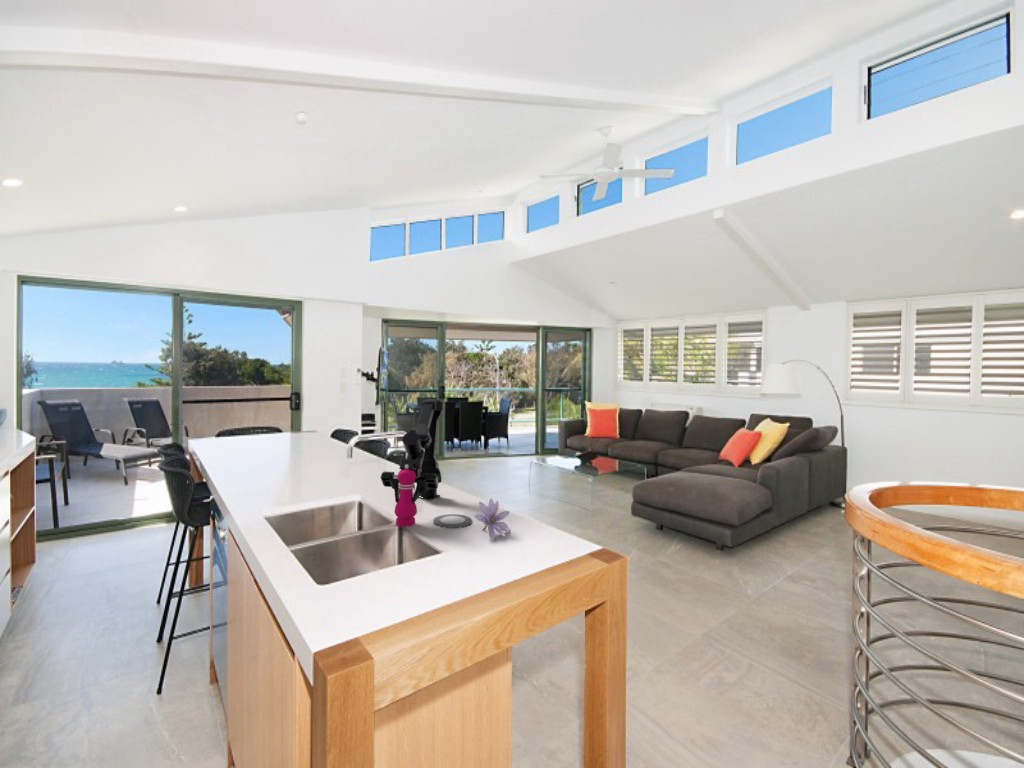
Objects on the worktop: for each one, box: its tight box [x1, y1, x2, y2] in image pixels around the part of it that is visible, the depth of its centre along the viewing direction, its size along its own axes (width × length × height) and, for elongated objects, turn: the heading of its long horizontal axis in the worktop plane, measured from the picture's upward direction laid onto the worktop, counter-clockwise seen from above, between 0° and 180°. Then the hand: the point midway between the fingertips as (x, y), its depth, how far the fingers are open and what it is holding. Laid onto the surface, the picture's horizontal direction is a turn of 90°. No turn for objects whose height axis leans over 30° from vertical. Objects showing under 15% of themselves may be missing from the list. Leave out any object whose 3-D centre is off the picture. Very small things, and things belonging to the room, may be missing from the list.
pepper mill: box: [394, 464, 418, 528], centre depth 165 cm, size 7×7×20 cm
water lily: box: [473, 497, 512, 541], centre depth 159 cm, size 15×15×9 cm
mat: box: [432, 513, 473, 529], centre depth 169 cm, size 13×13×1 cm
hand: (404, 502), depth 164 cm, fingers closed on pepper mill, 5 cm apart
